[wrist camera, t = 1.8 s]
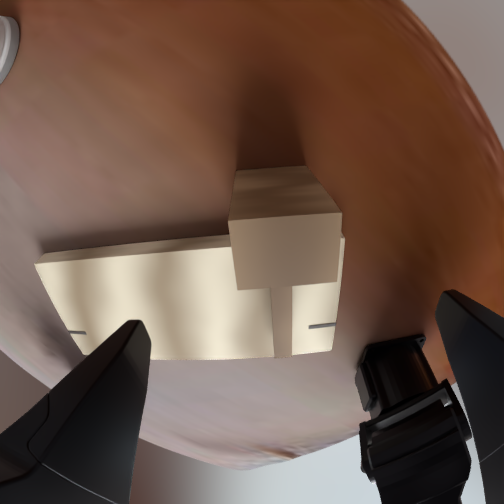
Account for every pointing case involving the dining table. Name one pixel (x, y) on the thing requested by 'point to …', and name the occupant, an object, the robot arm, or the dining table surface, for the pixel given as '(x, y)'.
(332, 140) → the dining table surface
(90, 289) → the board
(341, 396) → the dining table surface
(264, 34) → the dining table surface
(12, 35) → the travel mug
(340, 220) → the block
